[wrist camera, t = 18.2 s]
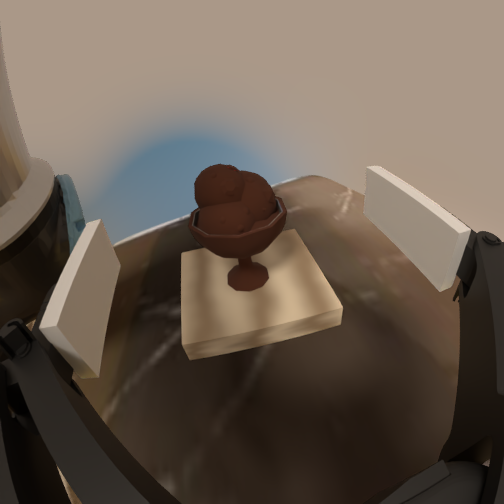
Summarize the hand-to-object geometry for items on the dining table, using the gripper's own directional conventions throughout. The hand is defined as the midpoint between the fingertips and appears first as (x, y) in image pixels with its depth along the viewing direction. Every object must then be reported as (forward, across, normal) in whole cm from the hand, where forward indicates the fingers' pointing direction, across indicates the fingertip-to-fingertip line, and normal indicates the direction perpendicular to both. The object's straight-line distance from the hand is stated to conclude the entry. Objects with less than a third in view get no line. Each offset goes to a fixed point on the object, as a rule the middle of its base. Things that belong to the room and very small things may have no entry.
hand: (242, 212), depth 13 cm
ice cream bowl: (+17, +1, -18) cm, 25 cm away
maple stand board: (+17, +2, -21) cm, 27 cm away
